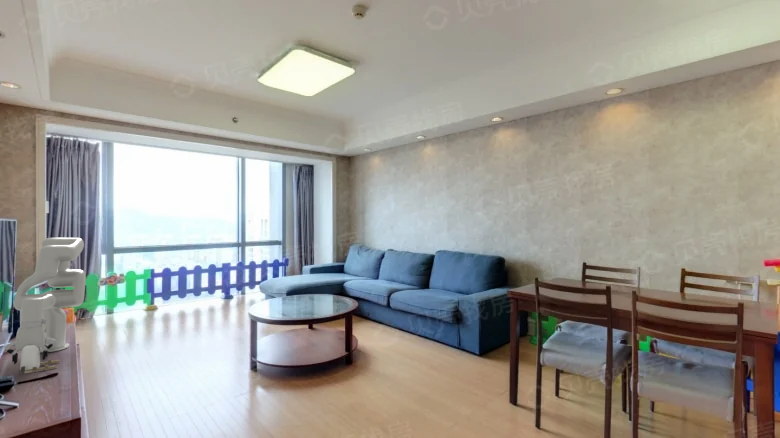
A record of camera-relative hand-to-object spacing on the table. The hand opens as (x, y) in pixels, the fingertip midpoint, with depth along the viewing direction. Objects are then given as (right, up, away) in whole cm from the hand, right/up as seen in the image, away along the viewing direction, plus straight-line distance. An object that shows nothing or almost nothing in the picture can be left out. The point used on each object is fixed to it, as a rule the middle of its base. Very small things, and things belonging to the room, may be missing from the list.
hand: (30, 360), depth 170 cm
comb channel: (+3, -4, +2) cm, 6 cm away
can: (0, -4, 0) cm, 4 cm away
